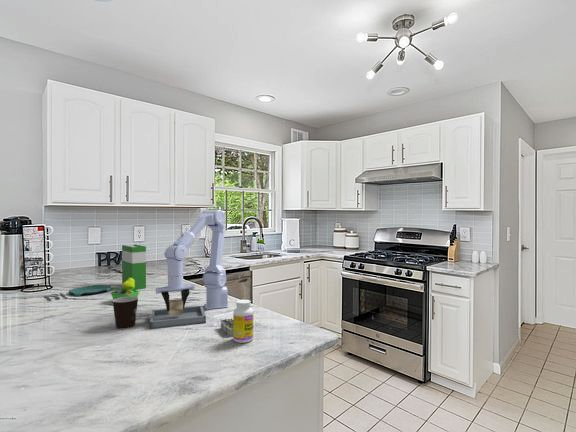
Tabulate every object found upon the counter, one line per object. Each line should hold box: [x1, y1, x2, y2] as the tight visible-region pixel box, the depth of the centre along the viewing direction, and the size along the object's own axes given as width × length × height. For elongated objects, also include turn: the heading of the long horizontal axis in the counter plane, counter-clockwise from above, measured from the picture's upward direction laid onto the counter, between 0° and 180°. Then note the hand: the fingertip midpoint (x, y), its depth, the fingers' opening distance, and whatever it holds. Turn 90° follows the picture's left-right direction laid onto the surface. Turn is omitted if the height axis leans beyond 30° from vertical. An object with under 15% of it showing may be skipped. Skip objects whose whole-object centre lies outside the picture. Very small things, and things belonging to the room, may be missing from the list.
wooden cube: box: [168, 298, 183, 316], centre depth 130 cm, size 5×5×5 cm
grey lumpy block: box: [219, 318, 233, 337], centre depth 118 cm, size 11×8×4 cm
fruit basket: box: [110, 278, 140, 301], centre depth 158 cm, size 11×9×11 cm
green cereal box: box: [121, 244, 147, 291], centre depth 191 cm, size 18×7×24 cm, turn 43°
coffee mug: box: [112, 297, 139, 330], centre depth 124 cm, size 12×9×10 cm
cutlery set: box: [43, 284, 112, 302], centre depth 175 cm, size 20×30×2 cm, turn 135°
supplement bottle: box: [232, 299, 254, 344], centre depth 109 cm, size 7×7×13 cm
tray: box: [149, 305, 207, 330], centre depth 131 cm, size 20×16×2 cm
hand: (175, 309), depth 130 cm, fingers closed on wooden cube, 5 cm apart
